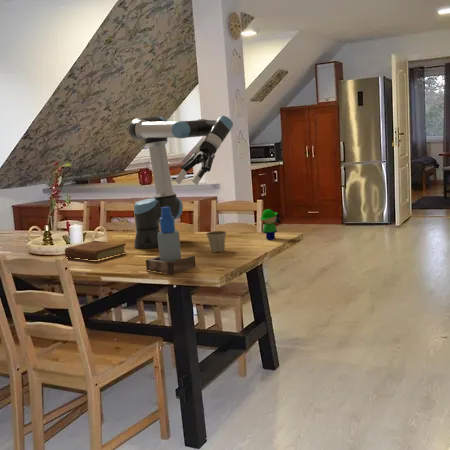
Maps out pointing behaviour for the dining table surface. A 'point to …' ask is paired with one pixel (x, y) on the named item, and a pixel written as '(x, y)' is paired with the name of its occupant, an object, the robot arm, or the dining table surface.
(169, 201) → the robot arm
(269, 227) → the toy
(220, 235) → the flower pot
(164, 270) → the rest
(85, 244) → the diary
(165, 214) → the blue and grey bottle
